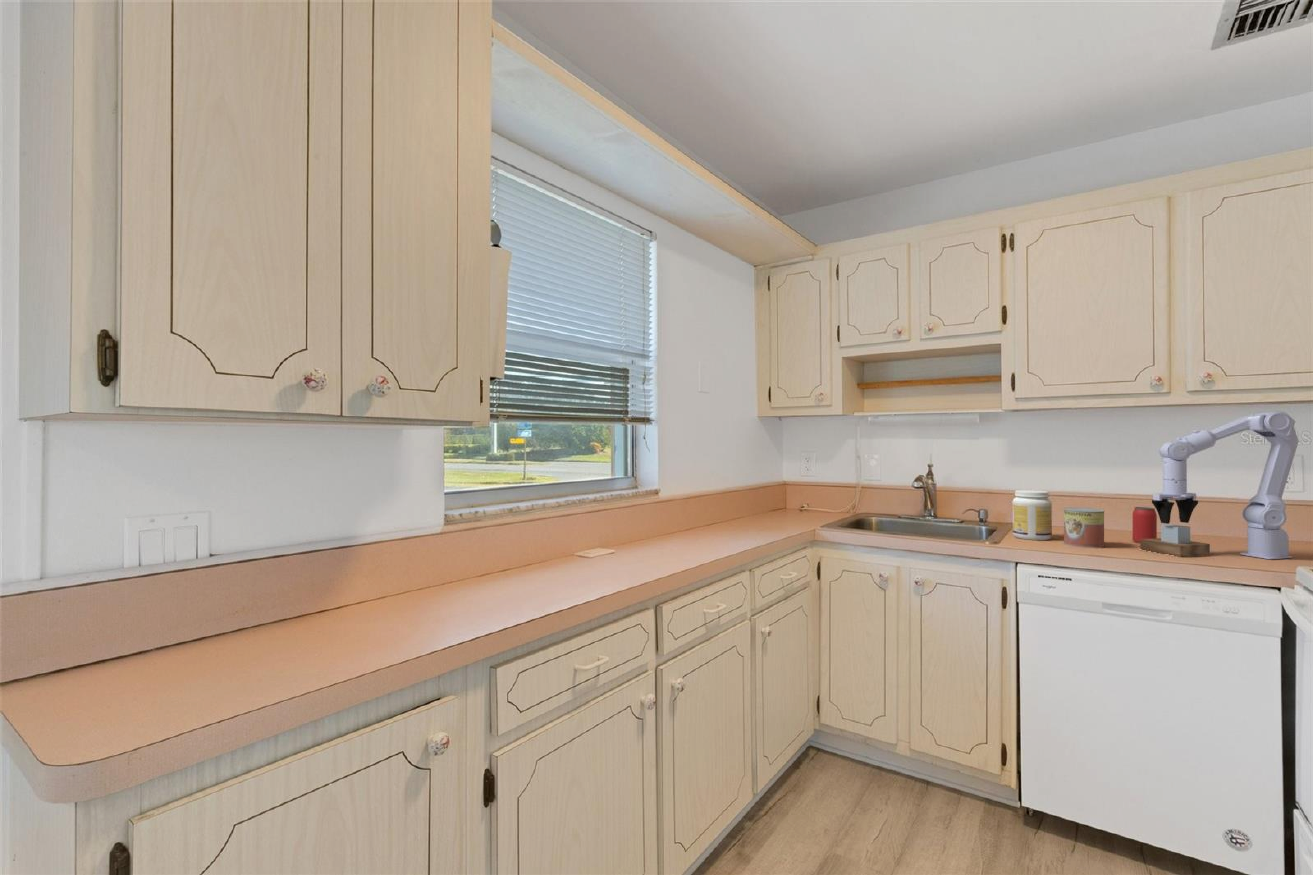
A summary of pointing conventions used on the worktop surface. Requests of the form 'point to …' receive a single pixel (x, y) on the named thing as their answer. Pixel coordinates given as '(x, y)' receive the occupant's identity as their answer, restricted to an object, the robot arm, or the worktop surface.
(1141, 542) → the walnut block
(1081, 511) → the canned food
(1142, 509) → the beer can
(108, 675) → the worktop surface
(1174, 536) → the slate cube
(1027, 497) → the supplement tub
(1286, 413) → the robot arm
